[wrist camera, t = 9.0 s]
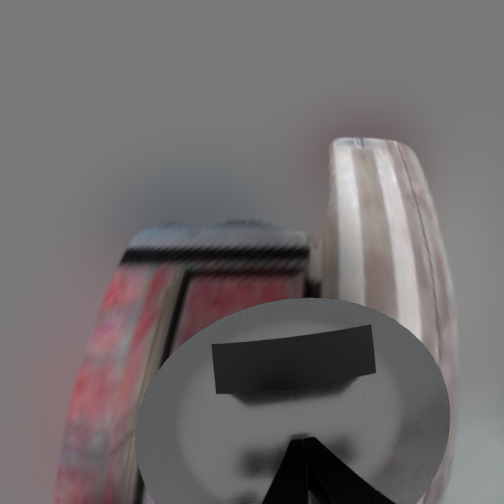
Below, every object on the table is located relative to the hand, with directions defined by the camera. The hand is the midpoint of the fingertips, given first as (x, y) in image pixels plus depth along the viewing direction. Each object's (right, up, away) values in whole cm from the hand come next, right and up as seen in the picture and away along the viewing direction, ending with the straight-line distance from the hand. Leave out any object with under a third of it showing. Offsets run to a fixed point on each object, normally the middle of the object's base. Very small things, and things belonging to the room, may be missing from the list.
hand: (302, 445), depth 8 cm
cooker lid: (0, -1, +1) cm, 2 cm away
